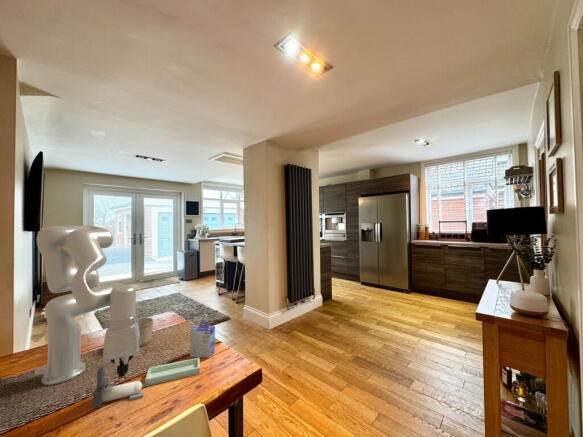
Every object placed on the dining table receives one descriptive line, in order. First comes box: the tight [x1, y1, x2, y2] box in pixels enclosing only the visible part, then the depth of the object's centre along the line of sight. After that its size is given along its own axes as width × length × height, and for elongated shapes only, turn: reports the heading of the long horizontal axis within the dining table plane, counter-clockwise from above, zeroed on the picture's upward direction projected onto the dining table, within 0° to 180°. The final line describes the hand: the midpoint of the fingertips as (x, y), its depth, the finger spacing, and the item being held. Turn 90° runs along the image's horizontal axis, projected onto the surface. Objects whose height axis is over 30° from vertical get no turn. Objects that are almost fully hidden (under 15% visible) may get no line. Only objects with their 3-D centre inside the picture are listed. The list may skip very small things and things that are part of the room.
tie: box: [92, 363, 109, 410], centre depth 79 cm, size 2×7×11 cm, turn 22°
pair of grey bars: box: [129, 382, 148, 401], centre depth 83 cm, size 4×7×1 cm, turn 22°
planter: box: [136, 317, 154, 348], centre depth 117 cm, size 13×13×10 cm
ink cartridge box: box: [189, 320, 216, 359], centre depth 107 cm, size 10×6×14 cm, turn 84°
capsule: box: [102, 380, 143, 403], centre depth 81 cm, size 14×4×4 cm, turn 112°
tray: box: [144, 357, 201, 387], centre depth 93 cm, size 19×8×2 cm, turn 112°
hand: (122, 374), depth 81 cm, fingers closed
